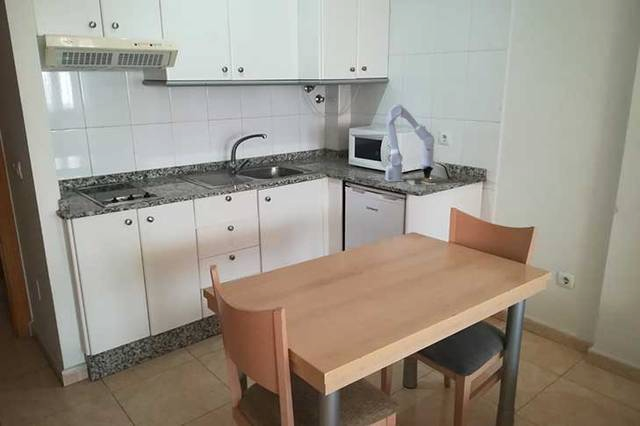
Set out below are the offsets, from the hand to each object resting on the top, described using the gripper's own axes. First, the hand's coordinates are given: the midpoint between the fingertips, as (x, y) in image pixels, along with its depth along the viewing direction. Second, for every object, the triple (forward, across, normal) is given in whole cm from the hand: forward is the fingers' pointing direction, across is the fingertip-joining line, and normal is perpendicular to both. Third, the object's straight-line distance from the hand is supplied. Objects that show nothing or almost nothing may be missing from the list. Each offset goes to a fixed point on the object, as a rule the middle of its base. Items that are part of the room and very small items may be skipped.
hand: (426, 179), depth 284 cm
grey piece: (+2, +20, +2) cm, 20 cm away
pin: (-1, -3, -4) cm, 5 cm away
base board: (+2, -5, +1) cm, 5 cm away
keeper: (+1, -10, +1) cm, 10 cm away
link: (+1, -2, 0) cm, 2 cm away
